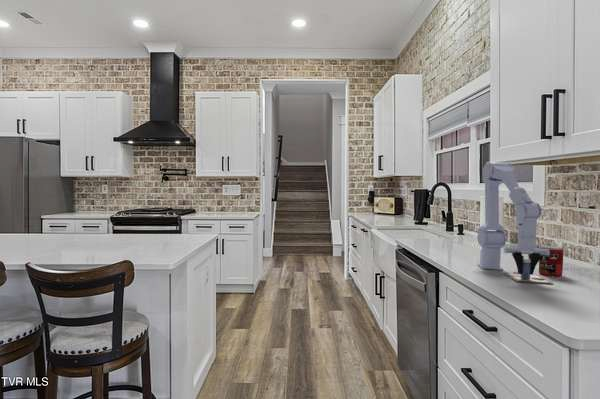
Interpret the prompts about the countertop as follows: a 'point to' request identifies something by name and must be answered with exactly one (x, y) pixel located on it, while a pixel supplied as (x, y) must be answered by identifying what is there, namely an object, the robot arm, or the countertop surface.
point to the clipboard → (533, 279)
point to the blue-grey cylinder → (526, 268)
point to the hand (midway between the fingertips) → (525, 273)
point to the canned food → (551, 261)
